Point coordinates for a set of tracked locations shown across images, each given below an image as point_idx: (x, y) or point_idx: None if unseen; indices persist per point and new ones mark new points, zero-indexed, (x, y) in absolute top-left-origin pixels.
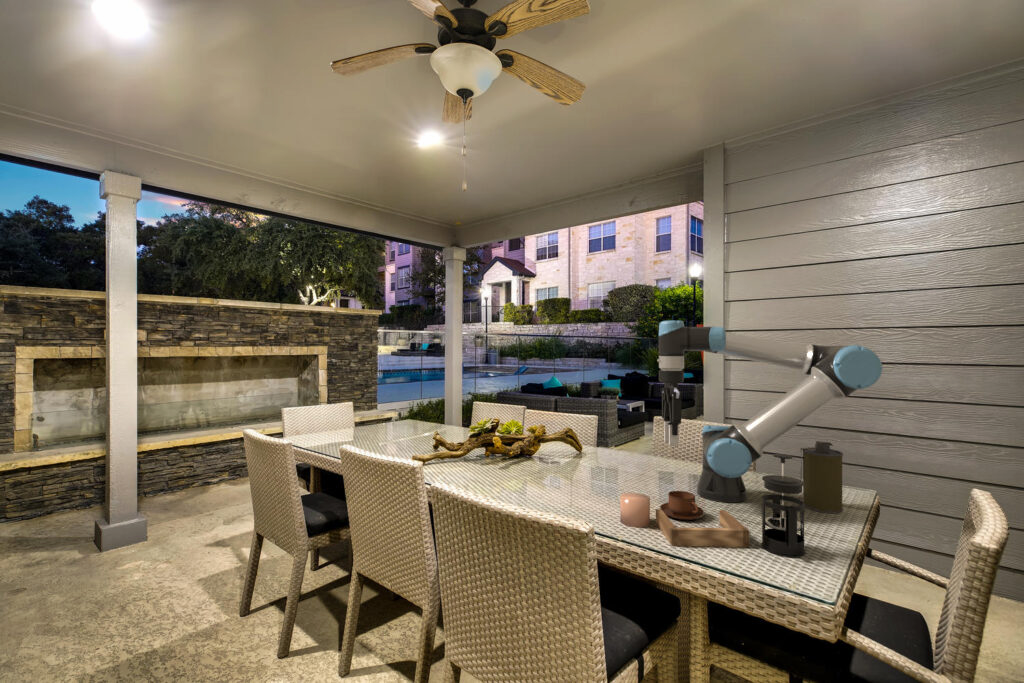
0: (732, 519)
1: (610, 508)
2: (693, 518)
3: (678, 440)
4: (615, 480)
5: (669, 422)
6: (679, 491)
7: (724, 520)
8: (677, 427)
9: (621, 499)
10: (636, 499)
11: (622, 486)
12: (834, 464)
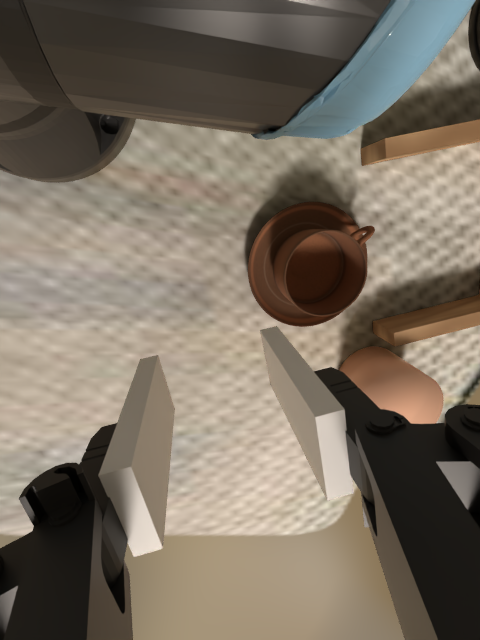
0: (463, 135)
1: (286, 435)
2: (357, 239)
3: (287, 339)
4: (4, 455)
5: (145, 500)
6: (285, 278)
7: (410, 154)
8: (375, 406)
9: None
10: (424, 406)
11: (70, 429)
12: None
